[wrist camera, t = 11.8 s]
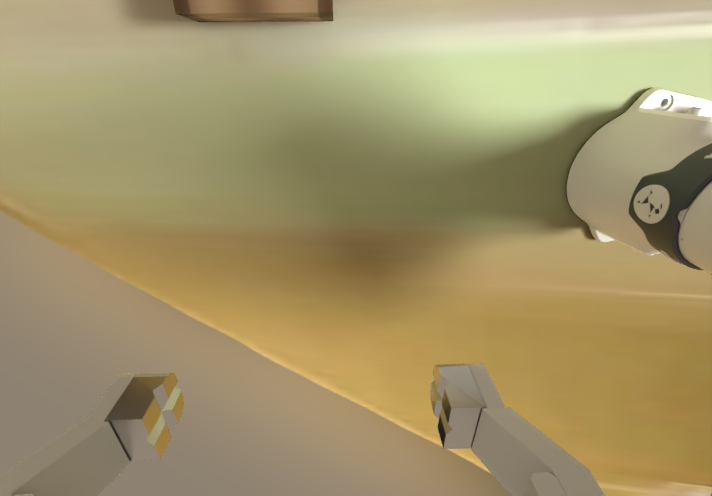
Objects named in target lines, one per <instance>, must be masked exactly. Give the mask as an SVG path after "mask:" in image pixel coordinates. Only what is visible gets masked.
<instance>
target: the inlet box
mask: <svg viewBox="0 0 712 496" xmlns="http://www.w3.org/2000/svg"><path fill="white" fill-rule="evenodd" d="M173 2H174V7H175V11H176V14H178V15H181V16H184V17H187V18H190V19H192V20H195V21H198V22H261V21H333V3H332V0H173Z"/></svg>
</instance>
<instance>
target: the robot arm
mask: <svg viewBox="0 0 712 496" xmlns="http://www.w3.org/2000/svg"><path fill="white" fill-rule="evenodd" d="M662 100H663V102H662V104H661V101H662ZM567 198H568V202H569V204H570V207H571V208H572V210H573V211H574V213H575V214H576V215H577V216H578V217H579V218H581V219H582V220H583V221H585V222H586V223H587V224H588V225H589V228H590V231H591V233H592V235H593V237H594V238H595V239H597V240H599V241H601V242H609V241H614V240H616V241H618V242H620V243H622V244H624V245H627V246H629V247H631V248H633V249H635V250H637V251H639V252H641V253H643V254H646V255H653V254H661V253H663V254H664V255H665V256H667V257H668V258H670V259H672V260H673V261H675V262H678V263H680V264H681V263H682V264H684V265H686V266H688V267H690V268H693V269H697V270H705V271H706V272H708V273H710V274H712V100H708V99H704V98H699V97H695V96H691V95H686V94H682V93H677V92H673V91H668V90H664V89H659V88H651V89H649V90H647V91H646V92H644V93H643V94H642V95H641V96H640V97H639V98H638V99H637V100H636V101H635V102H634V103H633V105H632V106H631V107H630V108H629V109H628V110H627V111H626V112H625V113H623V114H622V115H620V116H619V117H617V118H615V119H614V120H612V121H610V122H609V123H607V124H606V125H604V126H603V127H602V128H601V129H599V130H598V131H597V132H596V133H595V134H594V135H593V136H592V137H591V138H590V139H589V140H588V141H587V142H586V143H585V144H584V146H583V147H582V148H581V150H580V151H579V153H578V155H577V156H576V158H575V160H574V162H573V164H572V166H571V169H570V172H569V175H568V180H567ZM433 376H434V379H435V380H434V381H433V382H432V383H431V390H430V392H431V403H432V408H433V412H434V415H435V416H436V417H437V418H439V422H438V431H439V435H440V438H441V442H442V445H443V448H444V449H461V448H472V449H471V450H472V451H473V452H474V454H475V455H476V456H477V457H478V458H479V459H480V460H481V462H482V463H483V464H484V465H485V466H486V467H487V468H488V470H489V471H490V472H491V473H492V474H493V475H494V476H495V478H496V479H497V480H498V481H499V482H500V483H501V484H502V486H503V487H504V488H505V489H506V490H507V491H508V492H509V494H510V495H511V496H605V495H604V493H603V491H602V490H601V488H600V487H599V485H598V483H597V482H596V480H595V478H594V477H593V475H592V474H591V472H590V470H589V469H588V468H586V467H585V466H584V465H583V464H581V463H580V462H579V461H578V460H576V459H575V458H574V457H572V456H571V455H570V454H569V453H567V452H566V451H565V450H564V449H562V448H561V447H560V446H559V445H557V444H556V443H555V442H553V441H552V440H551V439H550V438H548V437H547V436H546V435H545V434H543V433H542V432H541V431H539V430H538V429H537V428H536V427H534V426H533V425H532V424H531V423H529V422H528V421H527V420H526V419H524V418H523V417H522V416H520V415H519V414H518V413H517V412H515V411H514V410H513V409H512V408H505V406H504V404H503V402H502V399H501V397H500V395H499V393H498V391H497V389H496V387H495V385H494V383H493V381H492V379H491V377H490V375H489V373H488V371H487V369H486V367H485V365H484V364H483V363H469V364H465V363H464V364H441V365H435V366H434V369H433ZM177 382H178V381H177V378H176V376H175V374H172V373H136V374H121V375H120V376H118V377H117V378H116V379H115V380H114V382H113V383H112V385H111V386H110V387H109V388H108V390H107V391H106V392H105V394H104V395H103V397H102V398H101V399H100V401H99V402H98V403H97V405H96V406H95V407H94V409H93V410H92V411H91V413H90V414H89V416H88V417H87V419H86V420H85V421H84V422H79V423H77V424H76V425H74V426H72V427H71V428H69V429H68V430H67V431H65V432H63V433H62V434H61V435H59V436H58V437H56V438H55V439H53V440H52V441H50V442H49V443H47V444H46V445H44V446H43V447H41V448H40V449H38V450H37V451H35V452H34V453H32V454H31V455H29V456H28V457H26V458H25V459H23V460H22V461H21V462H19V463H17V464H16V465H15V466H13V467H12V468H10V469H9V470H7V471H6V472H4V473H3V474H1V475H0V496H98V495H99V494H100V493H101V492H102V491H103V490H104V489H105V488H106V487H107V486H108V485H109V484H110V483H111V482H112V481H113V480H114V479H115V478H116V477H117V476H118V475H119V474H120V473H121V472H122V471H123V470H124V469H125V468H126V467H127V466H128V465H129V464H130V461H146V460H161V458H162V455H163V453H164V451H165V449H166V447H167V445H168V443H169V441H170V438H171V435H170V432H169V430H170V429H171V428H172V427H174V426H175V425H176V424H177V423H178V421H179V419H180V417H181V414H182V409H183V403H184V402H183V395H182V392H181V391H180V390H179V389H178V388H176V387H175V385H176V384H177Z"/></svg>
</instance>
